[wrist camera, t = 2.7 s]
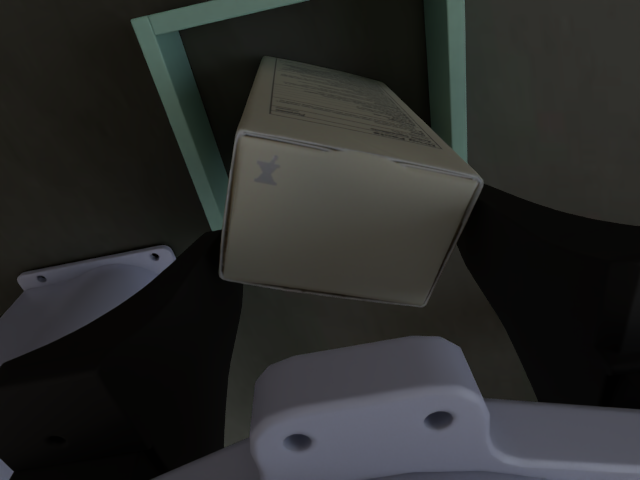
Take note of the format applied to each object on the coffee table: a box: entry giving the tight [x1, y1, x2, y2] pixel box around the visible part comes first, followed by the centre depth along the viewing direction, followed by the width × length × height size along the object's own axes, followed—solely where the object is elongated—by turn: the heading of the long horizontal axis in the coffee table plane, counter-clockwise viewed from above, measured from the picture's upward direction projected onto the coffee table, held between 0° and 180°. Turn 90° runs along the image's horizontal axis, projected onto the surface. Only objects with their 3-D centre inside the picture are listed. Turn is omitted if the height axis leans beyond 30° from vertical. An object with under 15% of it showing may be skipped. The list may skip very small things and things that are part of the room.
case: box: [131, 0, 467, 231], centre depth 20 cm, size 12×11×4 cm
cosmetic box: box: [218, 56, 483, 307], centre depth 16 cm, size 6×4×12 cm
